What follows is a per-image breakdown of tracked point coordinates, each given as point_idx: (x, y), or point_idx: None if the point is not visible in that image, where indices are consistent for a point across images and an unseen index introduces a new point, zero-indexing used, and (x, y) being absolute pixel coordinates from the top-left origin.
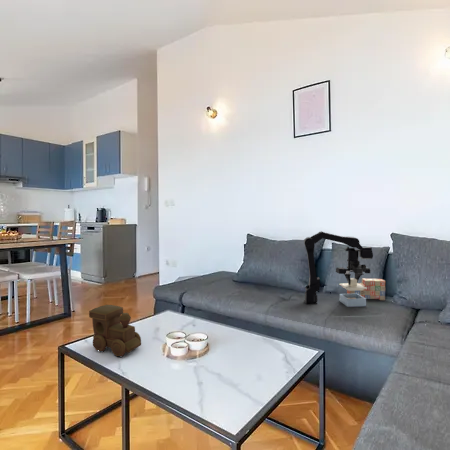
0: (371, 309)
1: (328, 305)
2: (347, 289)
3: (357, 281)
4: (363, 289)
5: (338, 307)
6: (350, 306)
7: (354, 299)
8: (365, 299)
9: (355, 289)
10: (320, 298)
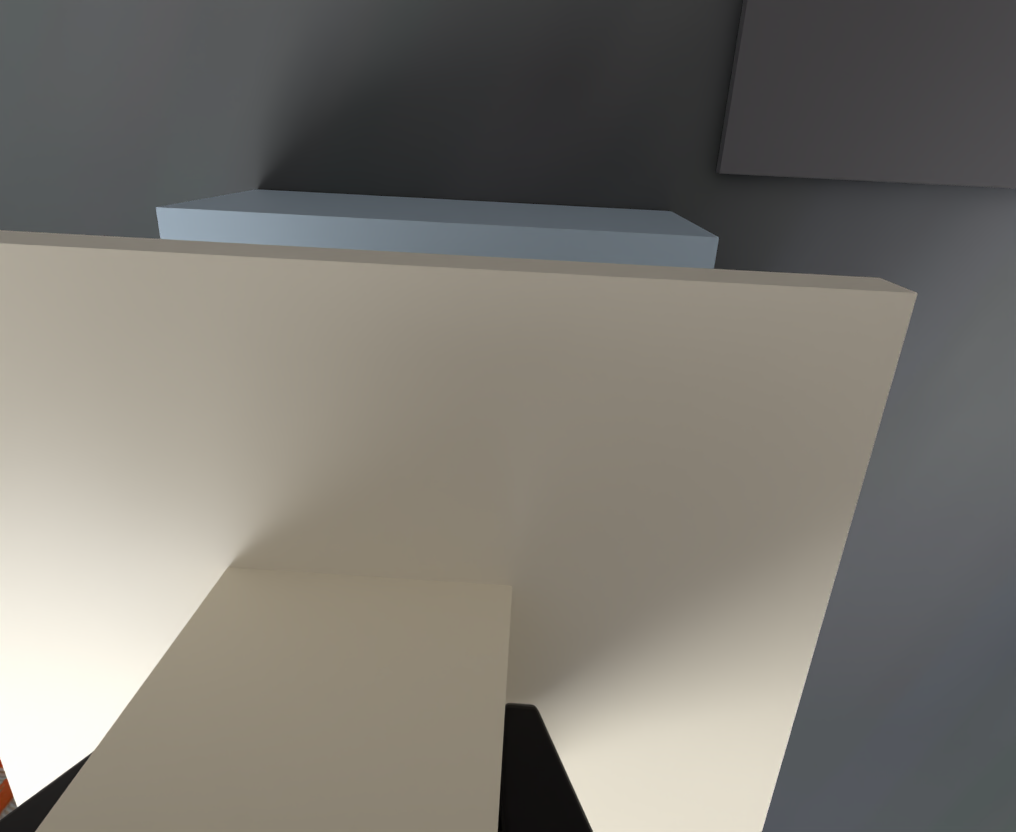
0: (193, 13)
1: (961, 410)
2: (879, 283)
3: (50, 805)
4: (3, 772)
5: (846, 260)
6: (606, 208)
7: (508, 223)
8: (187, 204)
9: (457, 258)
10: (831, 762)
